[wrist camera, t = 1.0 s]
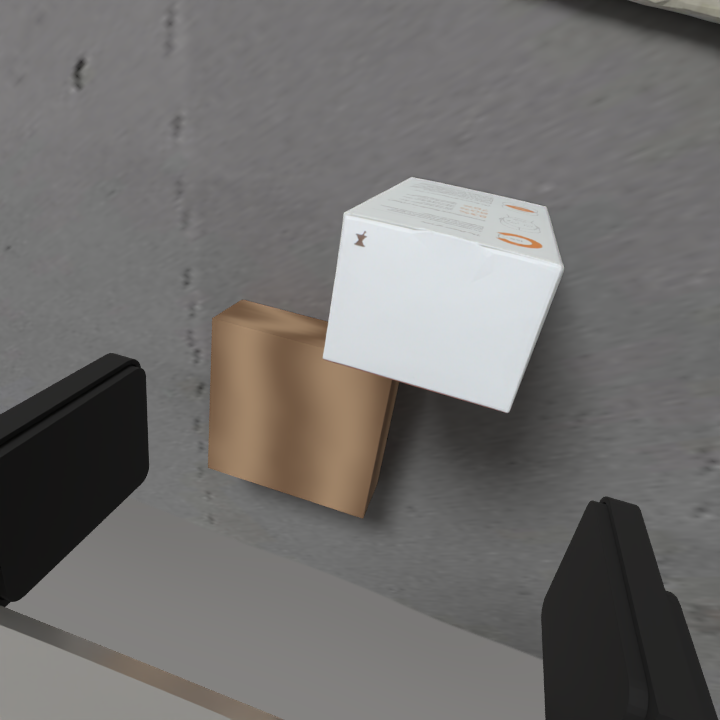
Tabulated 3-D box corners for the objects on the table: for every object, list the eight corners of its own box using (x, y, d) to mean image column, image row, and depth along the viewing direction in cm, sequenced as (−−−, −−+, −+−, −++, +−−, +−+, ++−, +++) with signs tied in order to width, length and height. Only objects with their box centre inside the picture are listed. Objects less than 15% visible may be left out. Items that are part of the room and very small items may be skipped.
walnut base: (407, 342, 35) (394, 367, 31) (377, 483, 40) (363, 518, 36) (242, 299, 37) (212, 318, 33) (234, 438, 42) (208, 467, 39)
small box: (388, 278, 33) (316, 360, 22) (409, 174, 30) (340, 206, 19) (515, 311, 32) (510, 418, 20) (551, 206, 29) (568, 261, 18)
